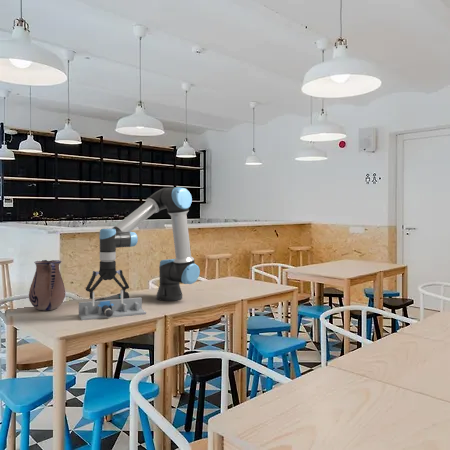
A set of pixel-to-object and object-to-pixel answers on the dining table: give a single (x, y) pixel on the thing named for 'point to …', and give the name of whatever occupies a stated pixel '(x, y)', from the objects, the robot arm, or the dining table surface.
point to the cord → (107, 311)
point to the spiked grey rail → (126, 309)
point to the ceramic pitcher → (47, 286)
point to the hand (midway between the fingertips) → (107, 304)
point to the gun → (114, 297)
